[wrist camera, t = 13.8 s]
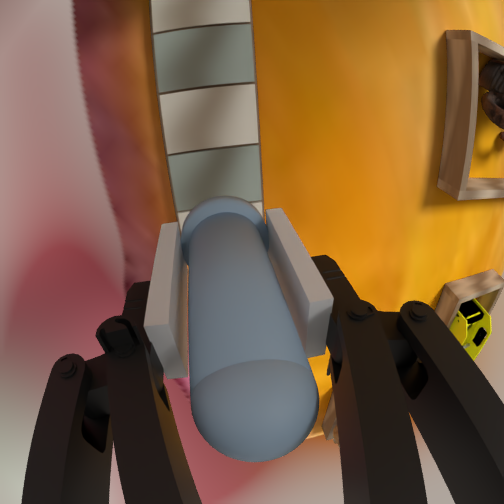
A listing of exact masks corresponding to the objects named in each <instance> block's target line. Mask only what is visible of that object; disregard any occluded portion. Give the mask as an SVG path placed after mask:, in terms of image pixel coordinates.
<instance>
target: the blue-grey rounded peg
mask: <svg viewBox="0 0 504 504" xmlns="http://www.w3.org/2000/svg"><path fill="white" fill-rule="evenodd" d="M181 247H182V252H183V256H184V260H185V262H186V263H187V265H188V266H189V277H188V333H189V373H190V397H191V410H192V416H193V419H194V422H195V424H196V427H197V429H198V431H199V432H200V434H201V435H202V436H203V438H204V439H205V440H206V441H207V442H208V443H209V444H210V445H211V446H212V447H213V448H215V449H216V450H217V451H219V452H220V453H222V454H224V455H226V456H228V457H231V458H233V459H237V460H241V461H246V462H264V461H269V460H273V459H276V458H279V457H282V456H284V455H286V454H288V453H289V452H291V451H293V450H294V449H295V448H297V447H298V446H299V445H300V444H301V443H302V442H303V441H304V440H305V439H306V438H307V436H308V435H309V434H310V432H311V430H312V428H313V427H314V424H315V422H316V419H317V415H318V411H319V393H318V388H317V384H316V381H315V379H314V376H313V373H312V370H311V367H310V365H309V362H308V359H307V356H306V354H305V351H304V348H303V346H302V343H301V340H300V337H299V335H298V332H297V329H296V327H295V324H294V321H293V319H292V316H291V313H290V311H289V308H288V305H287V303H286V300H285V297H284V295H283V292H282V289H281V287H280V284H279V282H278V279H277V276H276V274H275V271H274V268H273V266H272V263H271V261H270V258H269V255H268V253H267V252H268V250H269V237H268V229H267V227H266V224H265V222H264V220H263V217H262V215H261V214H260V212H259V211H258V210H257V208H256V207H255V206H253V205H252V204H251V203H249V202H248V201H246V200H244V199H242V198H239V197H235V196H216V197H212V198H209V199H206V200H204V201H202V202H201V203H199V204H198V205H196V206H195V207H194V208H193V209H192V210H191V211H190V212H189V214H188V215H187V217H186V218H185V220H184V223H183V226H182V232H181Z"/></svg>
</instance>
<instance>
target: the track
mask: <svg viewBox="0 0 504 504" xmlns="http://www.w3.org/2000/svg"><path fill="white" fill-rule="evenodd" d="M149 10H150V26H151V39H152V51H153V62H154V71H155V81H156V90H157V98H158V106H159V114H160V121H161V128H162V135H163V142H164V149H165V155H166V161H167V167H168V173H169V179H170V185H171V191H172V196H173V202H174V207H175V212H176V217H177V222H178V226H179V231H180V236H181V232H182V226H183V223H184V220H185V218H186V217H187V215H188V214H189V212H190V211H191V210H192V209H193V208H194V207H195V206H196V205H198V204H199V203H201V202H202V201H204V200H206V199H209V198H212V197H216V196H235V197H239V198H242V199H244V200H246V201H248V202H249V203H251V204H252V205H253V206H255V207H256V208H257V210H258V211H259V212H260V214H261V215H262V217H263V220H264V222H265V219H264V199H263V179H262V161H261V143H260V125H259V109H258V92H257V77H256V62H255V47H254V33H253V19H252V6H251V0H149Z"/></svg>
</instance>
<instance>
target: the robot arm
mask: <svg viewBox="0 0 504 504" xmlns="http://www.w3.org/2000/svg"><path fill="white" fill-rule="evenodd" d="M266 227H267V229H268V237H269V250H268V255H269V258H270V261H271V263H272V266H273V268H274V271H275V274H276V276H277V279H278V282H279V284H280V287H281V289H282V292H283V295H284V297H285V300H286V303H287V305H288V308H289V311H290V313H291V316H292V319H293V321H294V324H295V327H296V329H297V332H298V335H299V337H300V340H301V343H302V346H303V348H304V351H305V354H306V356H307V358H310V357H314V356H319V355H323V354H325V350H326V345H327V347H328V349H329V351H330V359H329V364H328V369H327V375H330V373H331V380H332V387H333V395H334V402H335V410H336V419H337V428H338V437H339V446H340V456H341V467H342V479H343V493H344V504H427V497H426V490H425V485H424V479H423V473H422V468H421V463H420V458H419V453H418V449H417V444H416V440H415V435H414V432H413V427H412V423H411V419H410V415H409V413H410V414H411V417H412V418H413V420H414V422H415V424H416V426H417V428H418V429H419V431H420V433H421V435H422V437H423V439H424V441H425V443H426V445H427V447H428V449H429V451H430V453H431V454H432V456H433V458H434V460H435V462H436V464H437V466H438V468H439V470H440V472H441V475H442V477H443V479H444V481H445V483H446V485H447V487H448V489H449V491H450V493H451V495H452V498H453V500H454V502H455V504H504V404H503V403H502V401H501V399H500V398H499V397H498V395H497V393H496V392H495V390H494V389H493V388H492V386H491V385H490V383H489V382H488V380H487V379H486V378H485V376H484V375H483V373H482V372H481V370H480V369H479V368H478V367H477V365H476V364H475V362H474V361H473V359H472V358H471V357H470V355H469V354H468V353H467V351H466V350H465V349H464V348H463V346H462V345H461V344H460V342H459V341H458V340H457V338H456V337H455V336H454V335H453V333H452V332H451V331H450V330H449V328H448V327H447V326H446V325H445V323H444V322H443V321H442V320H441V319H440V317H439V316H438V315H437V314H436V312H435V311H434V310H433V309H432V308H431V307H430V306H429V305H427V304H425V303H423V302H420V301H408V302H406V303H404V304H403V306H402V307H401V309H400V312H383V311H377V310H376V308H375V307H374V306H373V305H372V304H370V303H369V302H366V301H364V300H360V298H359V297H358V295H357V294H356V292H355V291H354V289H353V287H352V286H351V284H350V283H349V281H348V280H347V278H346V277H345V275H344V274H343V272H342V271H341V270H340V268H339V266H338V265H337V263H336V262H335V261H334V260H333V259H331V258H330V257H328V256H327V255H321V256H314V257H310V255H309V253H308V252H307V250H306V248H305V247H304V245H303V243H302V242H301V240H300V238H299V236H298V235H297V233H296V231H295V230H294V228H293V226H292V225H291V223H290V221H289V220H288V218H287V216H286V215H285V213H284V211H283V210H282V208H276V209H267V210H266ZM187 275H188V269H187V264H186V262H185V260H184V256H183V252H182V247H181V236H180V231H179V226H178V222H172V223H165V224H162V226H161V230H160V235H159V240H158V245H157V250H156V255H155V260H154V266H153V271H152V277H151V281H145V282H138V283H134V284H133V285H132V287H131V288H130V289H129V291H128V292H127V296H126V300H125V302H126V303H125V305H124V310H123V313H122V315H120V316H114V317H111V318H109V319H107V320H106V321H104V322H103V323H102V324H101V325H100V326H99V328H98V329H97V332H96V338H97V339H98V341H99V343H100V345H101V346H102V348H103V350H104V351H105V354H103V355H101V356H98V357H95V358H93V359H90V360H87V361H84V359H83V358H82V357H81V356H79V355H78V354H67V355H65V356H63V357H61V358H60V359H58V361H56V362H55V364H54V366H53V368H52V371H51V373H50V376H49V379H48V383H47V386H46V389H45V392H44V396H43V399H42V403H41V407H40V410H39V414H38V418H37V421H36V425H35V430H34V434H33V438H32V442H31V447H30V452H29V457H28V462H27V468H26V474H25V480H24V487H23V495H22V503H21V504H109V488H110V472H111V459H112V448H113V441H114V448H115V454H116V460H117V465H118V471H119V476H120V481H121V486H122V490H123V495H124V499H125V503H126V504H202V502H201V500H200V497H199V495H198V492H197V489H196V486H195V484H194V480H193V478H192V475H191V472H190V469H189V466H188V462H187V460H186V456H185V453H184V450H183V447H182V443H181V440H180V437H179V434H178V430H177V426H176V423H175V419H174V415H173V411H172V408H171V404H170V400H169V396H168V392H167V389H166V387H165V385H164V383H163V375H164V373H165V375H166V377H167V379H173V378H184V377H188V350H187Z"/></svg>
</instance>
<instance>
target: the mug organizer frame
mask: <svg viewBox="0 0 504 504" xmlns="http://www.w3.org/2000/svg"><path fill="white" fill-rule="evenodd" d="M446 40H447V101H446V117H445V129H444V140H443V149H442V157H441V164H440V171H439V177H438V183H437V187H438V188H440V189H441V190H443V191H444V192H446V193H447V194H449V195H450V196H452V197H453V198H455V199H456V200H472V199H487V198H504V178H468V177H469V172H470V166H471V159H472V153H473V145H474V137H475V128H476V117H477V103H478V52H480V53H483V54H485V55H487V56H489V57H491V58H494V59H496V60H498V61H501V62H504V47H502V46H501V45H499V44H497V43H495V42H493V41H491V40H489V39H487V38H485V37H483V36H481V35H479V34H477V33H475V32H473V31H471V30H446Z"/></svg>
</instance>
